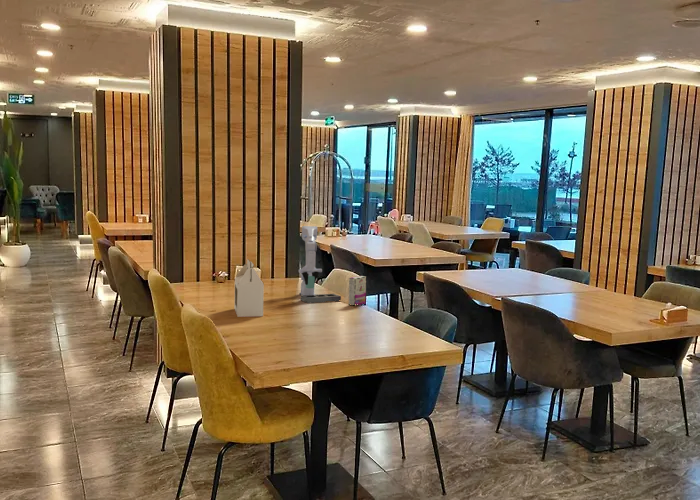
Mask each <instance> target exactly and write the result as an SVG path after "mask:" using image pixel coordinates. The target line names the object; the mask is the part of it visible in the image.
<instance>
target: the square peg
mask: <svg viewBox="0 0 700 500" xmlns="http://www.w3.org/2000/svg"><path fill="white" fill-rule="evenodd" d="M314 282H315V283H316V281H315V277H314V276H308V285H306V288H314V289H315V284H314Z"/></svg>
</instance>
